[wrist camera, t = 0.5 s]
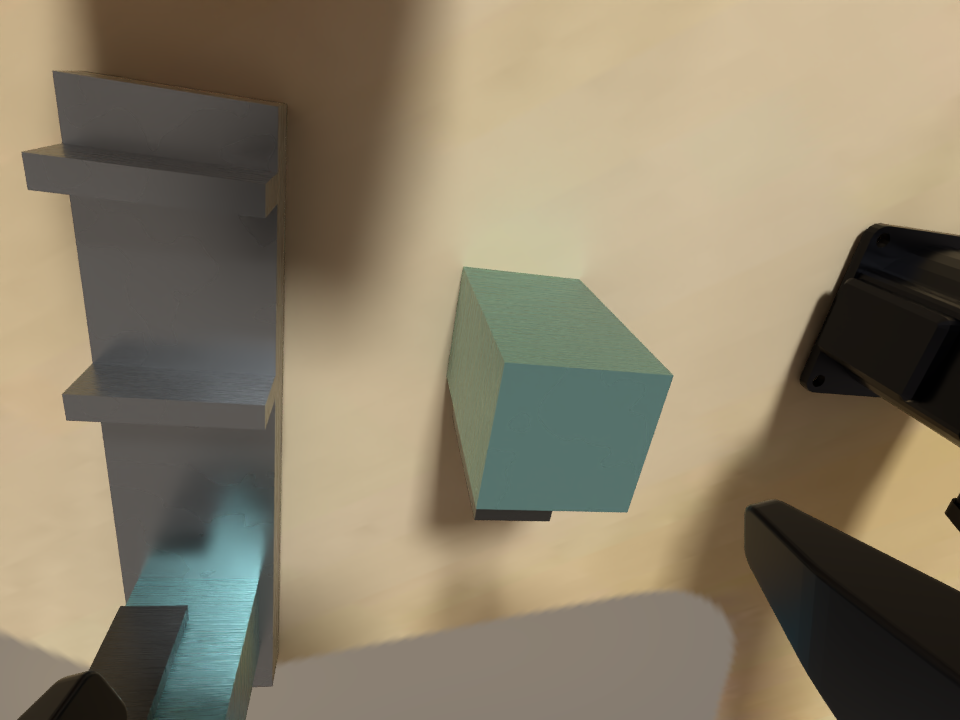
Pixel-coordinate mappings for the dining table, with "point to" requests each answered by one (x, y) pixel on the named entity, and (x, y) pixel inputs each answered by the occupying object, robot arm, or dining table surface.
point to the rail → (181, 375)
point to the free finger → (548, 397)
